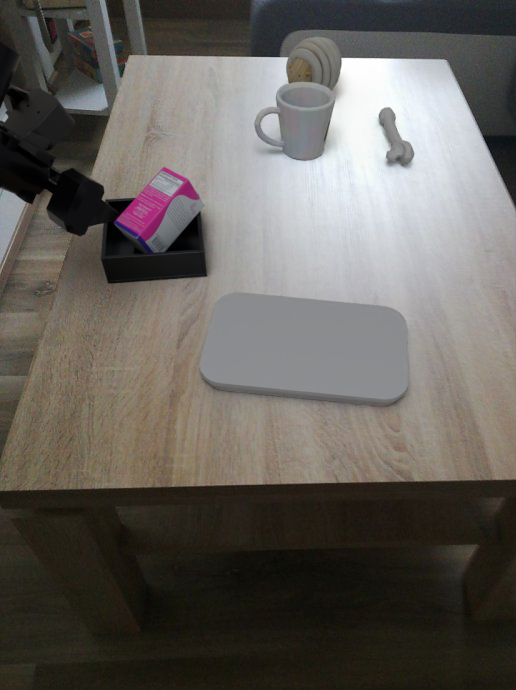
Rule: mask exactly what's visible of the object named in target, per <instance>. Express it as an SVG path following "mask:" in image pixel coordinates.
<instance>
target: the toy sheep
mask: <svg viewBox="0 0 516 690" xmlns="http://www.w3.org/2000/svg"><path fill="white" fill-rule="evenodd" d="M342 58H343V57H342V53H341V51H340V49H339V47H338V45H337V44H336V43H335V42H334V41H333V40H332V39H330V38H328V37H326V36H325V37H324V36H312V37H307V38H304V39H302V40H301V41H300V42H298V43H297V45H295V46H294V47H293V48H292V49H291V51H290V53H289V56H288V57H287V60H286V66H285V72H286V77H287V84H290V83H294V82H312V83H317V84H321V85H323V86H326V87H328V88H329V89H330V90H332V91H333V92H334V88H335V87H336V85H337V84H338V82H339V80H340V75H341V70H342V64H343V61H342V60H343V59H342Z"/></svg>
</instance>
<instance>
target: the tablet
mask: <svg viewBox="0 0 516 690" xmlns="http://www.w3.org/2000/svg"><path fill="white" fill-rule="evenodd" d="M407 326H408V325H407V320H406V318H405V317H404V316H403V314H402V313H401V312H399V310H396V309H394V308H393V307H390V306H386V305H378V304H366V303H356V302H346V301H337V300H326V299H315V298H305V297H293V296H283V295H273V294H262V293H253V292H242V291H237V292H235V291H234V292H230V293H227V294H224V295H223V296H221V297H220V298H219V299H218V300H216V302H215V304H214V306H213V310H212V314H211V317H210V320H209V324H208V328H207V333H206V335H205V340H204V343H203V346H202V351H201V354H200V357H199V362H198V365H199V366H198V367H199V372H200V375H201V376H202V377H203V379H204V380H205V381H206V382H207V383H209V385H210V386H211V387H212V388H214V389H216V390H218V391H219V390H220V391H224V392H225V391H226V392H237V393H246V394H254V395H255V394H256V395H267V396H276V397H286V398H296V399H305V400H315V401H326V402H336V403H344V404H357V405H364V406H365V405H366V406H374V407H375V406H377V407H386V406H390V405H392V404H394V403H395V402H396V401H397V400H399V399H401V398H402V397H403V396H404V395H405V394H406V392H407V389H408V386H409V359H408V358H409V357H408V355H409V354H408V327H407Z"/></svg>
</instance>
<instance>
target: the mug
mask: <svg viewBox="0 0 516 690" xmlns="http://www.w3.org/2000/svg"><path fill="white" fill-rule="evenodd" d="M275 92H276V93H275V102H276V106H267V107H265V108H263V109H260V111H259V112H258V113H257V114H256V117H255V119H254V122H253V125H254V130H255V133H256V135H257V137H258V138H259V139H260V140H261V141H263V142H264V143H265V144H267V145H270V146H273V147H278V148H282V150H283V151H284V153H285V155H287V156H288V157H290V158H292V159H295V160H299V161H310V160H314V159H317V158H318V157H320V156H321V155H322V154H323V152H324V150H325V145H326V142H327V137H328V133H329V130H330V129H329V128H330V125H331V122H332V121H331V120H332V116H333V111H334V107H335V104H336V94H335V93H334V90H333V91H332V90H330V89H329V88H328V87H326V86H323V85H321V84H317V83H312V82H294V83H290V84H289V83H286V84H284V85H283V86H282V85H281V86H280V87H279V88H278V89H277V90H276V91H275ZM272 114H273V115H277V116H278V123H279V132H280V139H281V140H278V139H274V138H271V136H268V135H267V134H266V133H265V132H264V131H263V128H262V125H261V123H262V121H263V119H264V118H265V117H266V116H268V115H272Z"/></svg>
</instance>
